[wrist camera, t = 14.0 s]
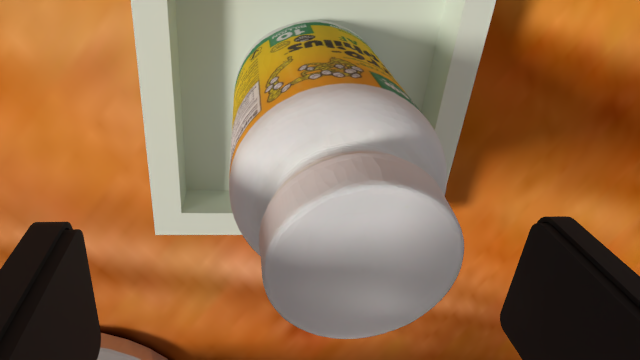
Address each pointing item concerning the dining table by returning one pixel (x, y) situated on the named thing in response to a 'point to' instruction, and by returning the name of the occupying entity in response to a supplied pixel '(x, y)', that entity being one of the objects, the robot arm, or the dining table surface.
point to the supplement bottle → (339, 185)
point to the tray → (225, 60)
